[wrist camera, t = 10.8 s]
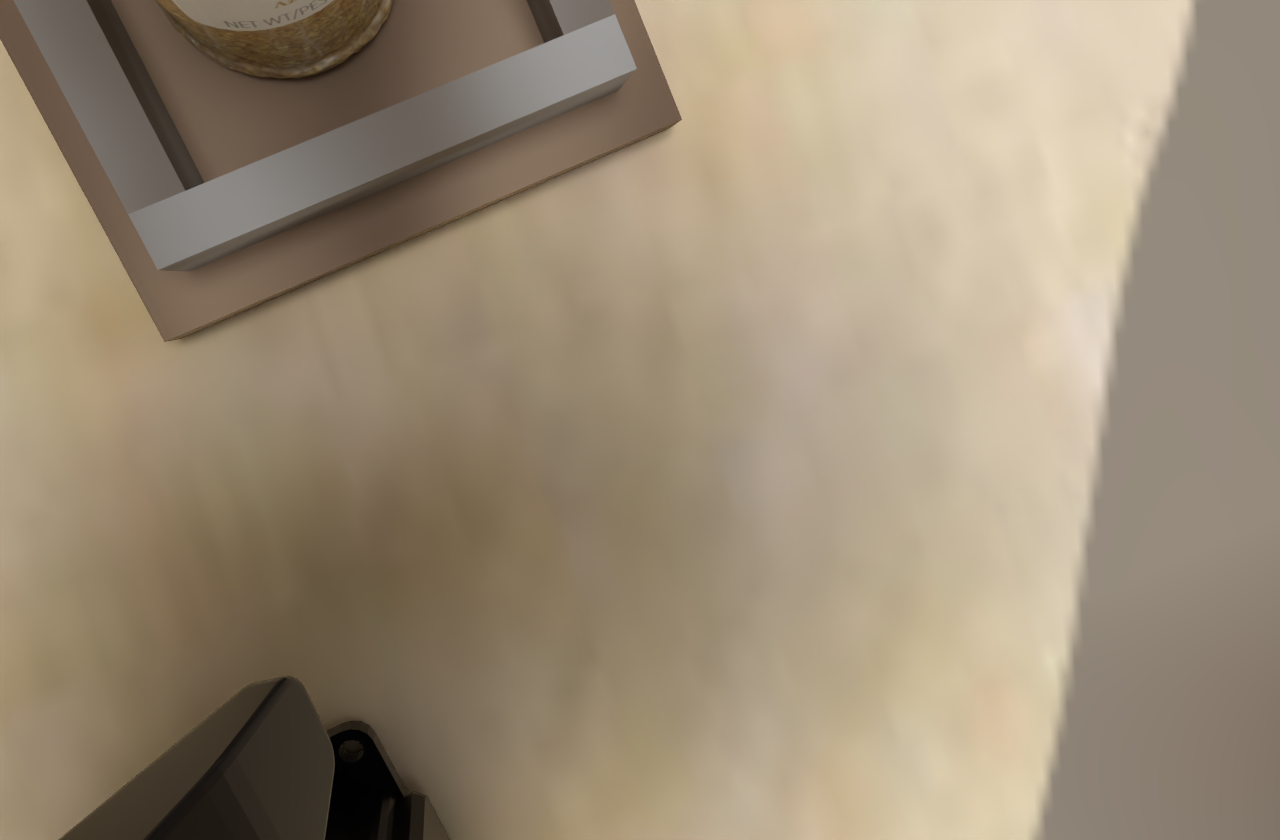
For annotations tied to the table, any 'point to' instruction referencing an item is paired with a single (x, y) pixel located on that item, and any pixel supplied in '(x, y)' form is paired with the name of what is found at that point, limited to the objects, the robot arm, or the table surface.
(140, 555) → the table surface
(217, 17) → the sprinkles bottle
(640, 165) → the table surface
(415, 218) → the socket board
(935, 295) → the table surface
